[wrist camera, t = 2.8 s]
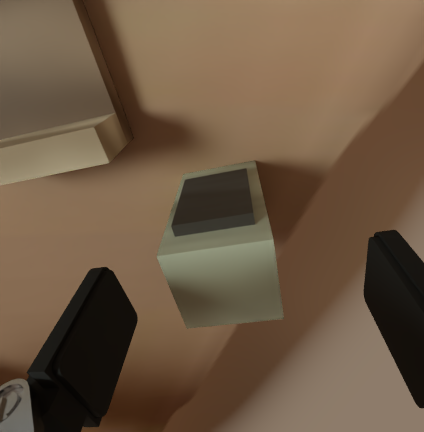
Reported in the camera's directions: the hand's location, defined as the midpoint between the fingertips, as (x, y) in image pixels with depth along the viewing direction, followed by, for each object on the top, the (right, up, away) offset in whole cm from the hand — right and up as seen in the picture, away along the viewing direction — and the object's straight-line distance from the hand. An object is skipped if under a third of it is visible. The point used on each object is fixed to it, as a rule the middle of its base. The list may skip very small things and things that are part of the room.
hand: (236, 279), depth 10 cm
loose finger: (0, +3, +6) cm, 7 cm away
